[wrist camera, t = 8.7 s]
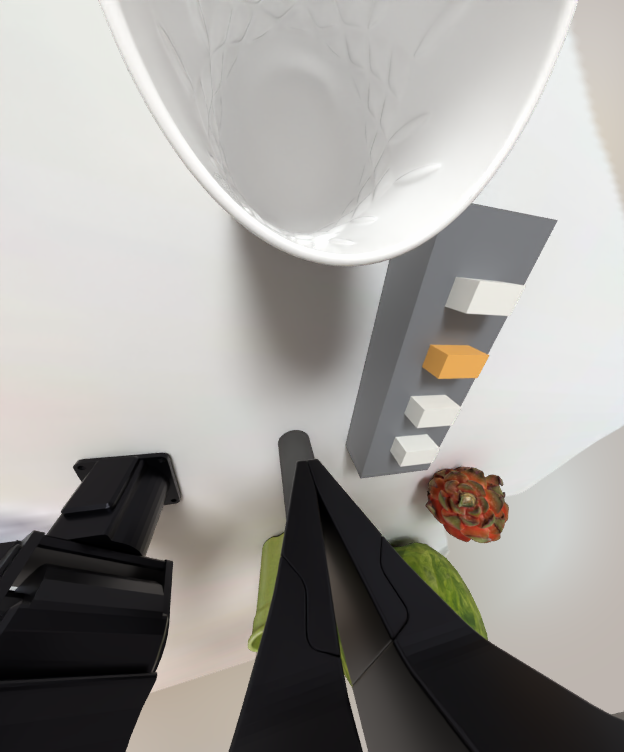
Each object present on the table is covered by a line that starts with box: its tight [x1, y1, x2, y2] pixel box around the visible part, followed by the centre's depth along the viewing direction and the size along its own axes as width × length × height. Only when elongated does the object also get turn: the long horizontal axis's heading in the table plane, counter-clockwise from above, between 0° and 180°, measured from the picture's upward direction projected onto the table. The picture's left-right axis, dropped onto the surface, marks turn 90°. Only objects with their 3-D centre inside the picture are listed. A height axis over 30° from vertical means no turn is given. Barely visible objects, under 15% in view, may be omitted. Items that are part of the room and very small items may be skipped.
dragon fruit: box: [426, 467, 509, 543], centre depth 28 cm, size 8×8×12 cm
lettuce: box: [336, 543, 488, 686], centre depth 34 cm, size 18×23×19 cm
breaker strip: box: [346, 203, 558, 478], centre depth 17 cm, size 20×7×6 cm, turn 174°
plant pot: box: [248, 533, 284, 652], centre depth 27 cm, size 9×9×9 cm
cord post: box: [278, 430, 314, 520], centre depth 18 cm, size 3×3×10 cm
